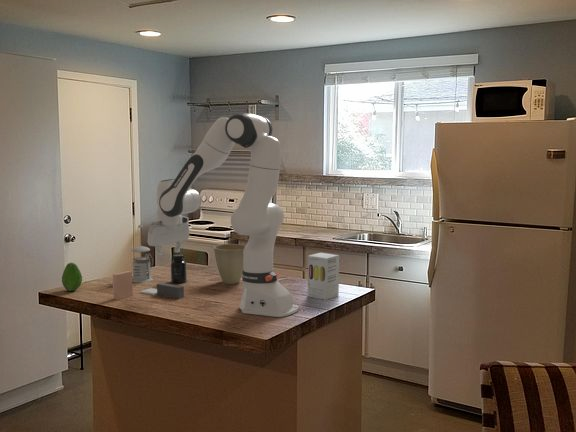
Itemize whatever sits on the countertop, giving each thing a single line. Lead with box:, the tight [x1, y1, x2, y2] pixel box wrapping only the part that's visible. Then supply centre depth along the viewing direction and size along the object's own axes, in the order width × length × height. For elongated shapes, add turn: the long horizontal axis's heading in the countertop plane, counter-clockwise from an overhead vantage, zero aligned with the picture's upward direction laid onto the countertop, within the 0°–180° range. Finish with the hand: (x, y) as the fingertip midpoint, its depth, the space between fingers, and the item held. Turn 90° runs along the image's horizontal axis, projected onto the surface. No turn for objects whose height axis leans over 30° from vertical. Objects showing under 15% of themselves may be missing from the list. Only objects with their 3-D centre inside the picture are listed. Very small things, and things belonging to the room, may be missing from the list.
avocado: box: [61, 262, 83, 292], centre depth 246 cm, size 8×8×12 cm
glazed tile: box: [112, 270, 134, 301], centre depth 236 cm, size 2×8×10 cm, turn 147°
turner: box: [139, 282, 185, 300], centre depth 241 cm, size 20×6×4 cm, turn 57°
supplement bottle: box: [170, 254, 188, 284], centre depth 262 cm, size 7×7×12 cm
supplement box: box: [307, 252, 340, 301], centre depth 238 cm, size 10×9×17 cm
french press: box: [131, 224, 154, 283], centre depth 265 cm, size 10×12×25 cm
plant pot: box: [213, 243, 247, 285], centre depth 262 cm, size 15×15×16 cm
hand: (168, 254), depth 237 cm, fingers open, 8 cm apart
